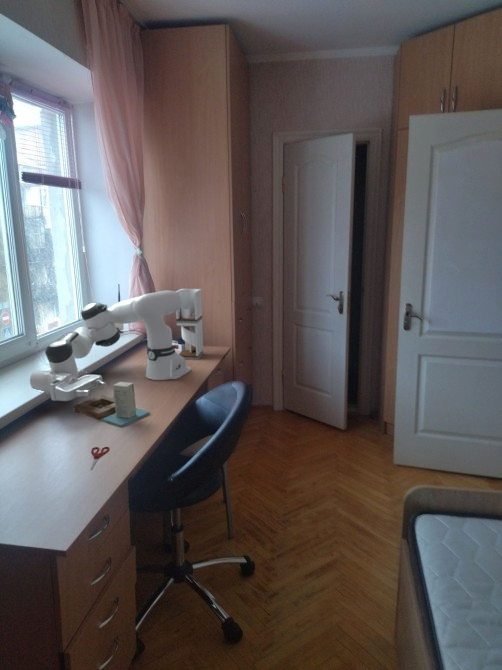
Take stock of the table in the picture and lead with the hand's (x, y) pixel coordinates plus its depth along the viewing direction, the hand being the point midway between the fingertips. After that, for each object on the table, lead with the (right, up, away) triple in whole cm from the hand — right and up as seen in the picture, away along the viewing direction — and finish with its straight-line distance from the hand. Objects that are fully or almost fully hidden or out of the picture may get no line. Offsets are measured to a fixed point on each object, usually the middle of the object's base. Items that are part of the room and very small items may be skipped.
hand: (96, 389), depth 181 cm
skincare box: (+11, -10, -2) cm, 15 cm away
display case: (+25, +9, +76) cm, 81 cm away
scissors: (+10, -18, -32) cm, 38 cm away
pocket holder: (0, -8, +5) cm, 10 cm away
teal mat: (+11, -10, -2) cm, 15 cm away
